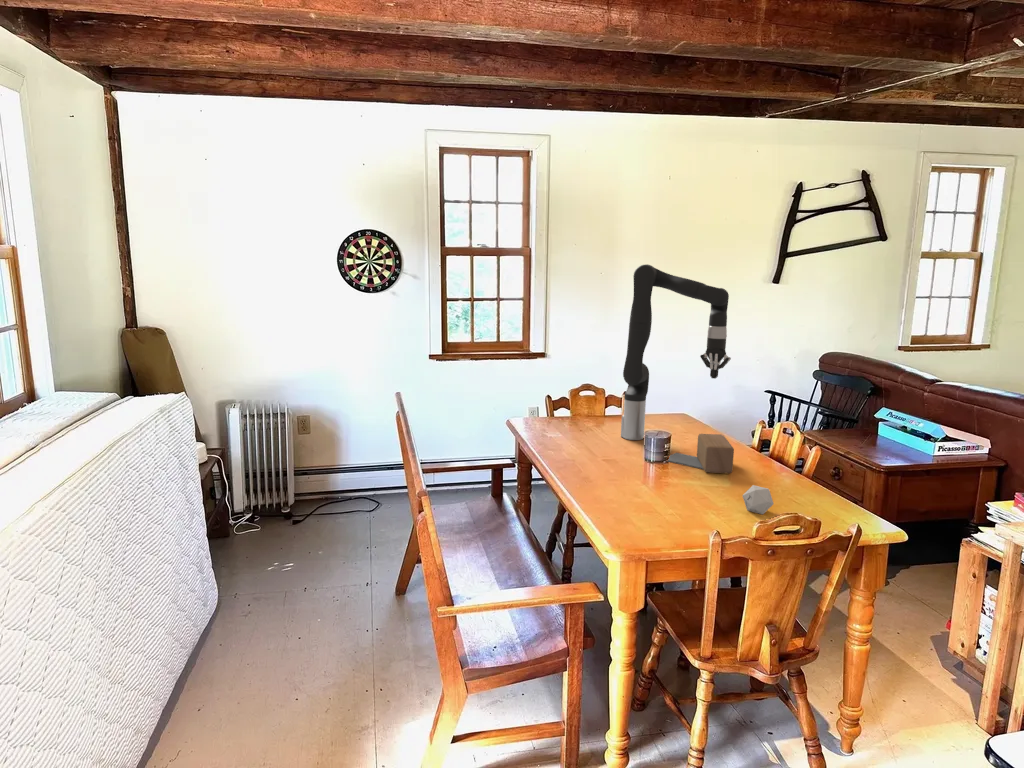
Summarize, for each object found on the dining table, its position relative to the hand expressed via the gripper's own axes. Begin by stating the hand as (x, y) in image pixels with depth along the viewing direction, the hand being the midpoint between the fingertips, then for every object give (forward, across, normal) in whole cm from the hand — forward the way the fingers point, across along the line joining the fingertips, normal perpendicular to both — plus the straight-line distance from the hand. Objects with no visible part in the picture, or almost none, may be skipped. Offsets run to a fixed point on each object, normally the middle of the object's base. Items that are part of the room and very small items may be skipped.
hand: (713, 378), depth 284 cm
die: (+29, +45, -63) cm, 83 cm away
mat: (+29, +6, -28) cm, 41 cm away
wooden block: (+23, +9, -20) cm, 32 cm away
